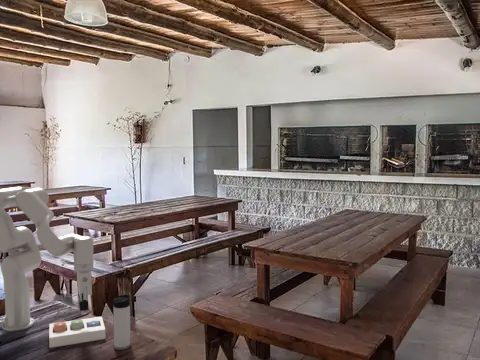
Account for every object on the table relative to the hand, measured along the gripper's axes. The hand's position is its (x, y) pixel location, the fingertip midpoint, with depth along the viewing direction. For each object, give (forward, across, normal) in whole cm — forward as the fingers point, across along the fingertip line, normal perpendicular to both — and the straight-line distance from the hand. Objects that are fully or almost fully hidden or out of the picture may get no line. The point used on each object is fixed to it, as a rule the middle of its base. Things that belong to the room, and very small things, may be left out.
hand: (84, 309), depth 182 cm
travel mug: (+10, -17, -13) cm, 24 cm away
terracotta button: (+9, 0, +9) cm, 13 cm away
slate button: (+10, 0, -4) cm, 11 cm away
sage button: (+9, 0, +3) cm, 9 cm away
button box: (+11, 0, +3) cm, 11 cm away
